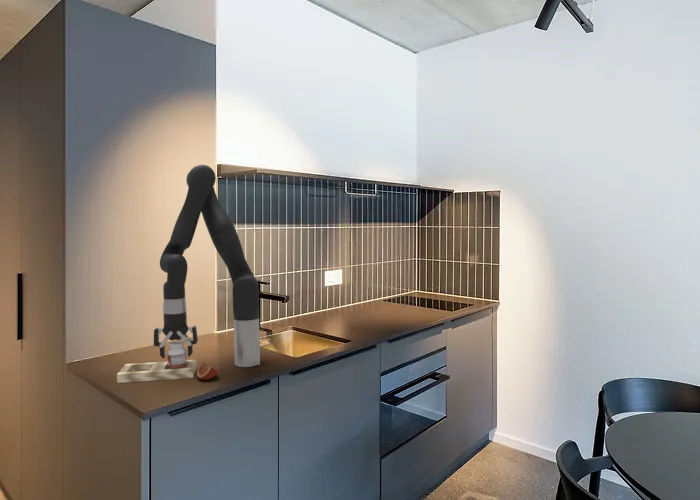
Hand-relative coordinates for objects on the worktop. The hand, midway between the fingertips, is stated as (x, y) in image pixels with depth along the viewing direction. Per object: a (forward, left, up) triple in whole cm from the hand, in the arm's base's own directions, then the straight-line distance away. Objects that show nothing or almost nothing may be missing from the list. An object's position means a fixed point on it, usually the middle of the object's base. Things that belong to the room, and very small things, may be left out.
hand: (176, 356), depth 163 cm
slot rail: (+6, 0, -6) cm, 9 cm away
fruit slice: (-11, +7, -6) cm, 15 cm away
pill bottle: (0, 0, -6) cm, 6 cm away
